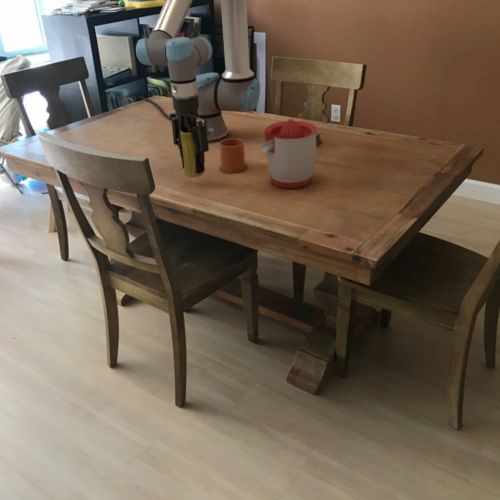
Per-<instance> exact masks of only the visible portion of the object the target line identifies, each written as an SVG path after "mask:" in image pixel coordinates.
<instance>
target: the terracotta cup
mask: <svg viewBox="0 0 500 500" xmlns="http://www.w3.org/2000/svg"><path fill="white" fill-rule="evenodd" d="M245 153H246V152H245V140H243V139H242V138H237V137H233V138H232V137H231V138H224V139H221V140H220V142H219V154H220V167H221V170H222V172H225V173H229V174H231V173H233V174H234V173H240V172H243V171H244V170H245V169H246V156H245Z"/></svg>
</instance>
